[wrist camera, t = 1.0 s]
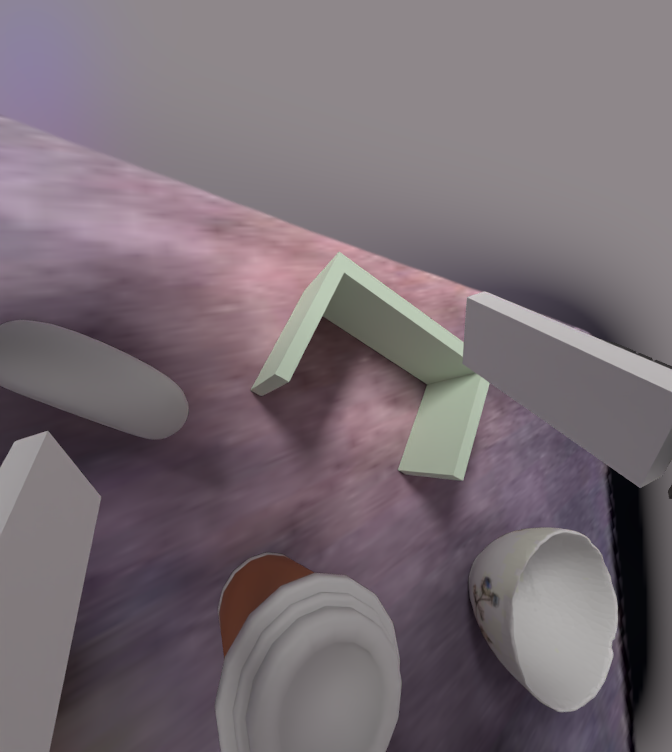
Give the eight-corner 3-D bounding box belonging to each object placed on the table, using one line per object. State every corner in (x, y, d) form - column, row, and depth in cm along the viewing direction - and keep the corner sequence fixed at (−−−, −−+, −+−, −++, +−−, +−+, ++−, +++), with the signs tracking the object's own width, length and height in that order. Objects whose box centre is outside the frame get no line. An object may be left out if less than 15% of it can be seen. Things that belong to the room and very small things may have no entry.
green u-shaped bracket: (250, 390, 28) (274, 373, 22) (304, 290, 32) (339, 251, 25) (406, 474, 33) (462, 480, 26) (437, 379, 36) (494, 364, 30)
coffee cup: (298, 510, 28) (380, 549, 17) (339, 621, 28) (448, 729, 17) (176, 575, 24) (186, 680, 13) (223, 707, 24) (273, 921, 13)
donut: (193, 403, 26) (208, 380, 17) (170, 449, 25) (174, 449, 16) (40, 341, 23) (-40, 273, 14) (6, 390, 22) (-104, 350, 13)
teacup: (436, 665, 31) (517, 731, 23) (440, 511, 34) (513, 527, 27) (552, 647, 36) (646, 695, 29) (547, 516, 40) (631, 532, 32)
